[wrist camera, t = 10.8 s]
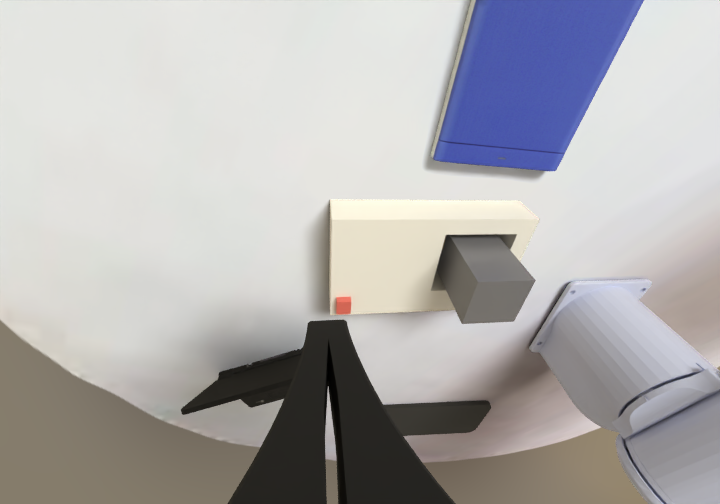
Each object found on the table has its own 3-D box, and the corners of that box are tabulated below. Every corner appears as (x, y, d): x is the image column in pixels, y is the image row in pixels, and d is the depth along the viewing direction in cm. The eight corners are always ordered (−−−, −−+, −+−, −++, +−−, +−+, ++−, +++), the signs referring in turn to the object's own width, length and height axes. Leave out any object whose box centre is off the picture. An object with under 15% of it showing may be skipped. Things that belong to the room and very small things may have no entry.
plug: (474, 261, 24) (513, 321, 20) (432, 262, 24) (461, 323, 19) (488, 224, 22) (535, 280, 18) (442, 224, 22) (478, 282, 17)
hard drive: (528, -180, 11) (435, 161, 18) (714, -126, 12) (558, 172, 20) (507, -160, 12) (427, 152, 20) (677, -113, 14) (544, 163, 21)
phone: (374, 408, 36) (494, 404, 38) (373, 401, 37) (491, 397, 39) (364, 438, 40) (473, 432, 43) (364, 431, 41) (471, 426, 43)
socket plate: (484, 286, 26) (501, 313, 24) (329, 291, 25) (330, 320, 22) (519, 200, 22) (544, 223, 19) (330, 199, 20) (332, 224, 18)
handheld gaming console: (263, 423, 33) (211, 497, 23) (230, 362, 33) (164, 409, 23) (358, 371, 32) (347, 424, 22) (324, 309, 32) (297, 334, 23)
